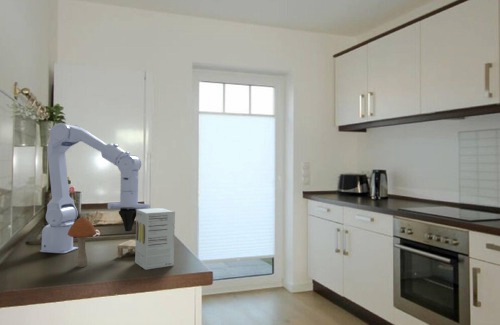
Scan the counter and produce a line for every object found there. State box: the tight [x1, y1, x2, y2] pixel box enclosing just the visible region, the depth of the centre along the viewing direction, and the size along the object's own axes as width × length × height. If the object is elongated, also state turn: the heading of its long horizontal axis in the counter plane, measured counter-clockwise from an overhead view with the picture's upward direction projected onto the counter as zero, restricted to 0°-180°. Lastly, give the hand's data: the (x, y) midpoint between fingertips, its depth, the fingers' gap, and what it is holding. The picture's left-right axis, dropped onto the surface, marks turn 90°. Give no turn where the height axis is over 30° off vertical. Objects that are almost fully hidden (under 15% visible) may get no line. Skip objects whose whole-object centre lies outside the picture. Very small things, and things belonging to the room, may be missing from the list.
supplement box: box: [134, 207, 176, 271], centre depth 117 cm, size 10×9×17 cm
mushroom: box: [68, 216, 97, 268], centre depth 113 cm, size 8×8×15 cm
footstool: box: [116, 239, 136, 258], centre depth 128 cm, size 4×9×9 cm
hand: (128, 230), depth 129 cm, fingers closed
